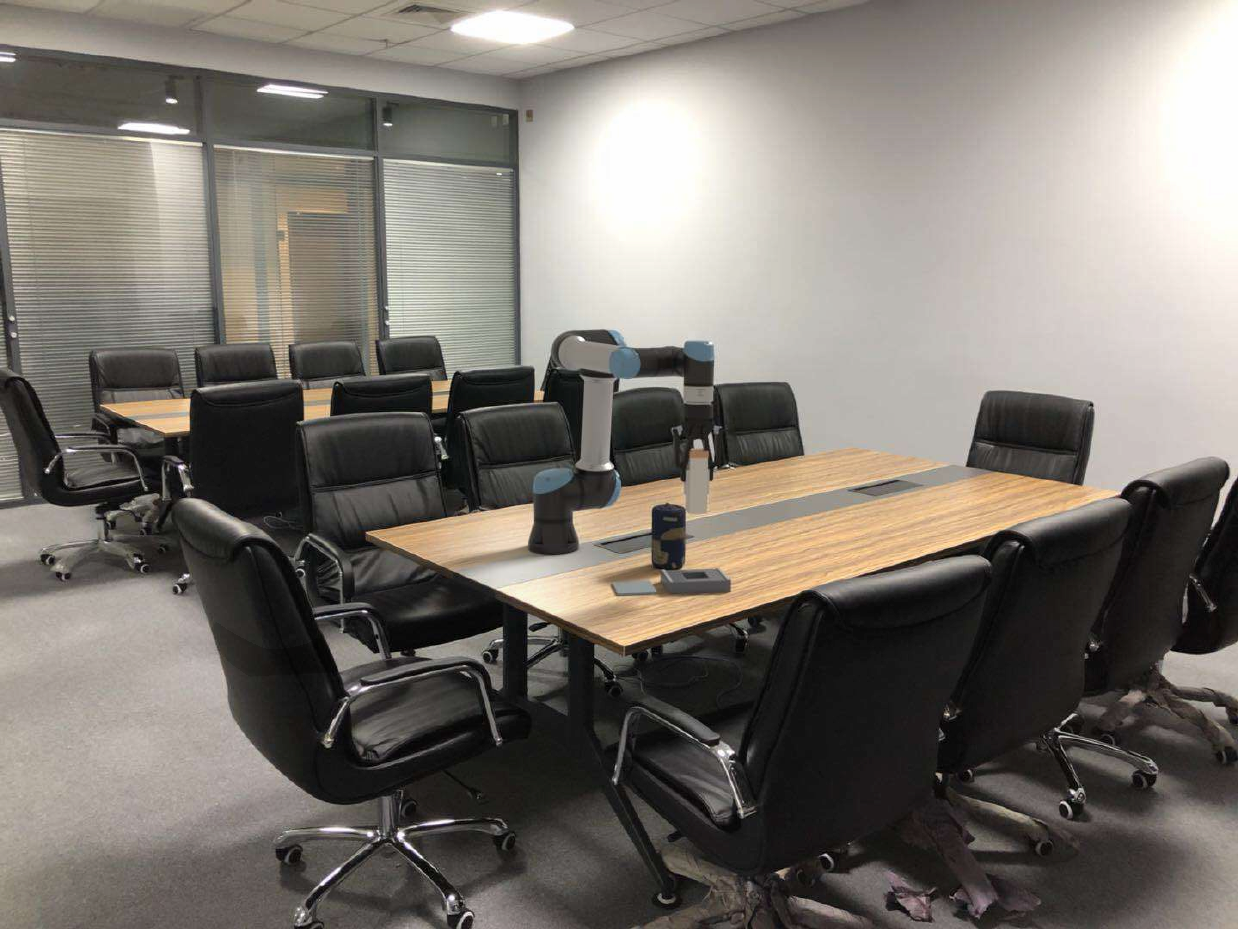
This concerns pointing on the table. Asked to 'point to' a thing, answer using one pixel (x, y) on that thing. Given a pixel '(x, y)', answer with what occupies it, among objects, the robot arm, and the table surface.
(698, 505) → the plug
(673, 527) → the canister
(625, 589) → the pad
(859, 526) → the table surface
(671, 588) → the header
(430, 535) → the table surface
